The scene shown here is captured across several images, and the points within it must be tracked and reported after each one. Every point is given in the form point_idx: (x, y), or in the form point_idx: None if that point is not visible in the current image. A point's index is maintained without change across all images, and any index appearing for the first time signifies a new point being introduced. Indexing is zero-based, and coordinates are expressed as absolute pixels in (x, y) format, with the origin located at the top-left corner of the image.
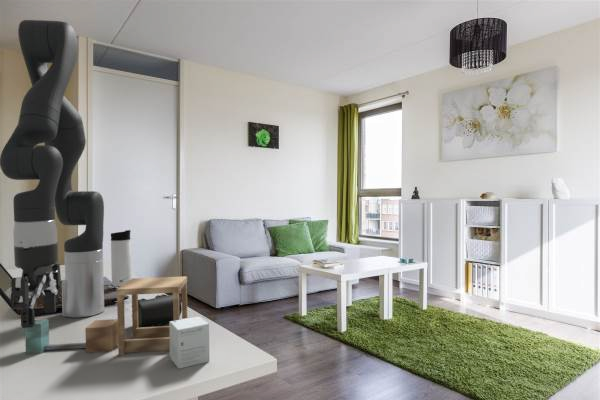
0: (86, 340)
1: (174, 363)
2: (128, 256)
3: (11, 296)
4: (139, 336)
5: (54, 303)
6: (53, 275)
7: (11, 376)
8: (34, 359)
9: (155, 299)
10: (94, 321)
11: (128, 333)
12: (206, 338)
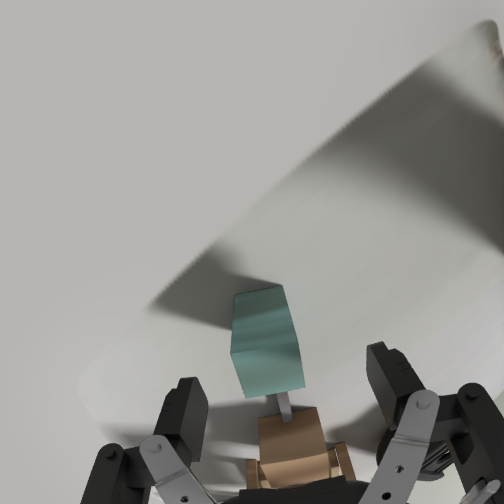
0: (259, 440)
1: (222, 502)
2: None
3: (85, 489)
4: (328, 458)
5: (380, 404)
6: (475, 480)
7: (114, 354)
8: (202, 344)
9: (420, 477)
10: (316, 455)
11: (370, 423)
12: None
